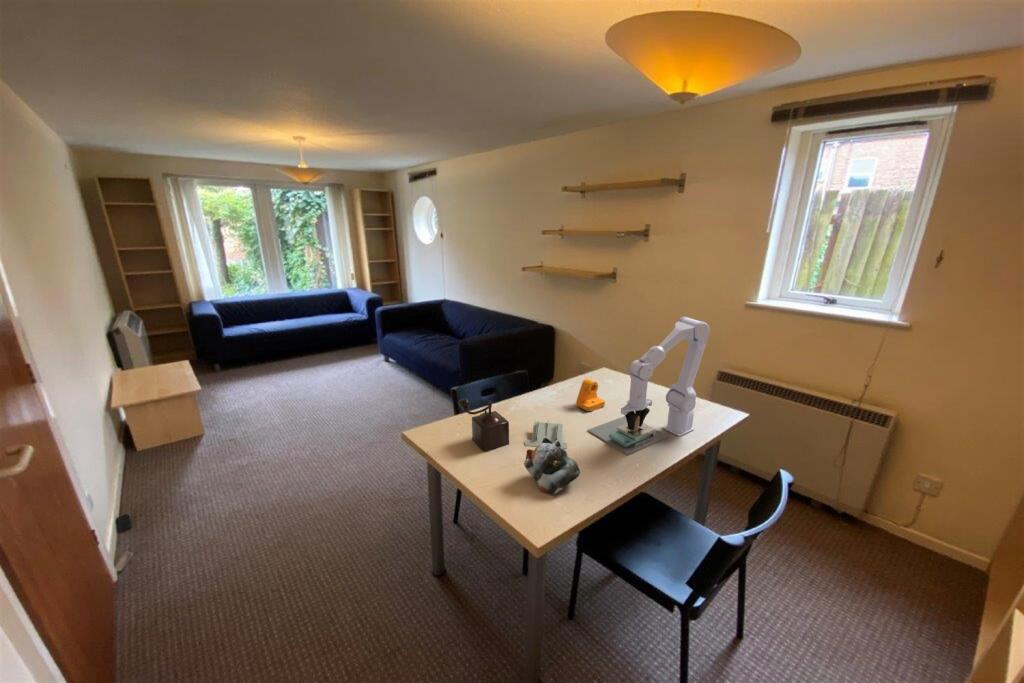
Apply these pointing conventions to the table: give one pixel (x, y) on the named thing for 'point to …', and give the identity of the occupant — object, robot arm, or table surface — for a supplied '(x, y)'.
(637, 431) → the maple pin
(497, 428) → the brown coffee grinder
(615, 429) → the rubber mat
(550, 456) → the lucky cat figurine
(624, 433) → the peg hole fixture
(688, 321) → the robot arm
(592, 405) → the bracket
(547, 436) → the metal bracket
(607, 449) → the table surface
